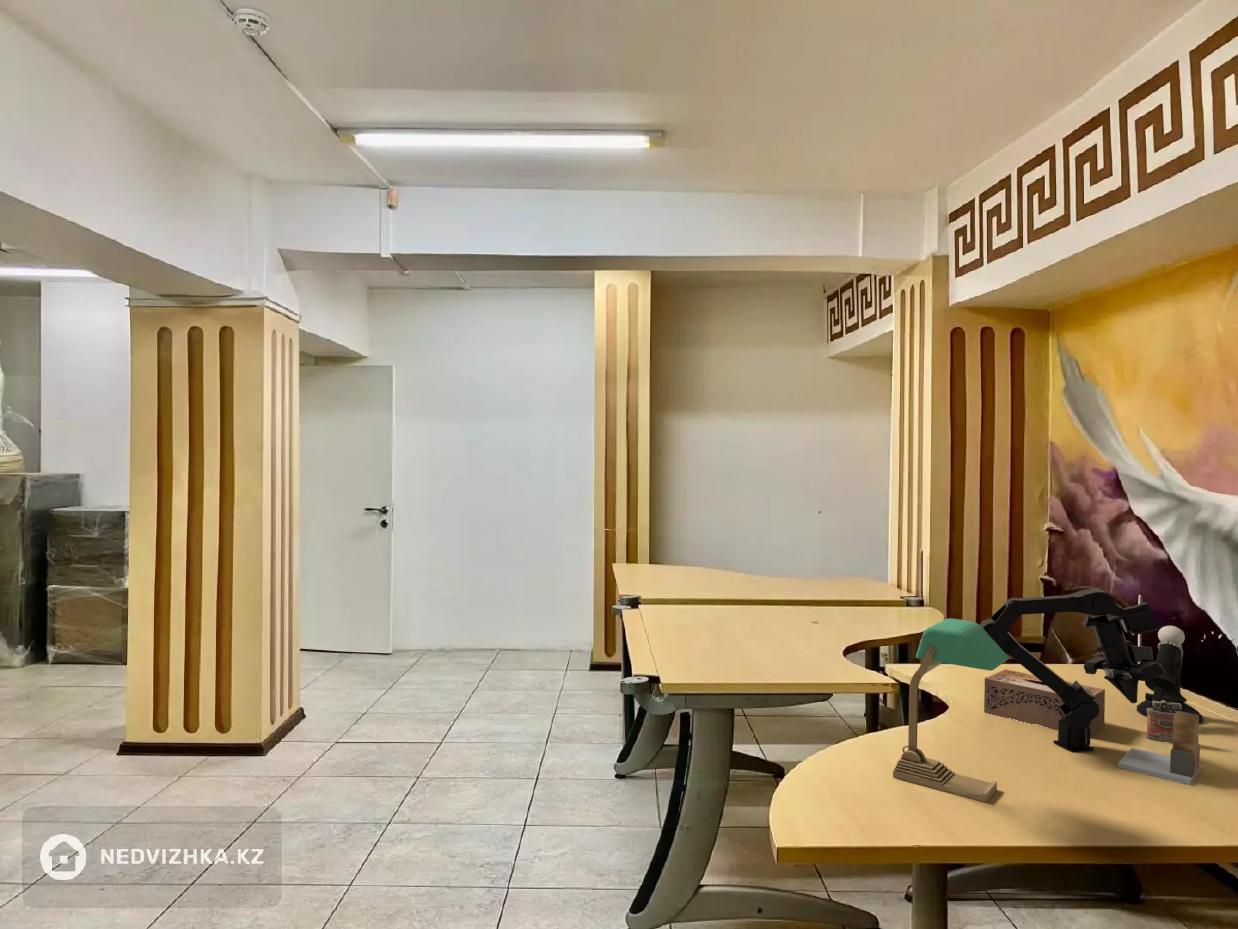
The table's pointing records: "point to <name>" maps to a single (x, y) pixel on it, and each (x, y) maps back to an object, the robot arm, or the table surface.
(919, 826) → the table surface
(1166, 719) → the lighter
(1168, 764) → the grey stand
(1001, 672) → the tissue box cover
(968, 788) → the banker's lamp
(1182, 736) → the tall wooden post
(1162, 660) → the sculpture
